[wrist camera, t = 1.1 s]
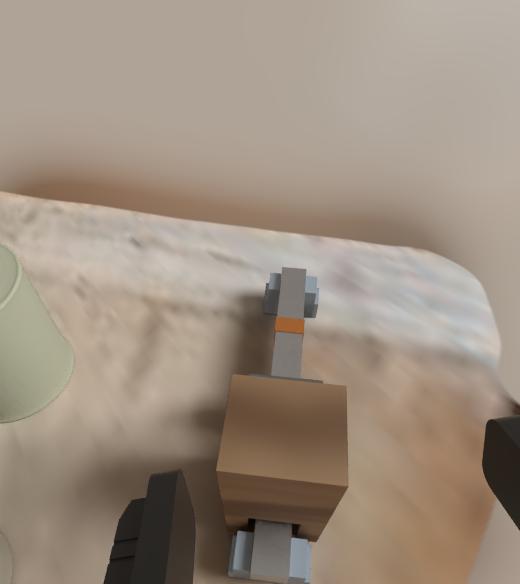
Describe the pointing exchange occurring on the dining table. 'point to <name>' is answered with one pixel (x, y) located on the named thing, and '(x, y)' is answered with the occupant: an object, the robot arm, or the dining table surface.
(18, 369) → the can
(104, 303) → the dining table surface
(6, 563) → the travel mug
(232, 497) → the wooden rectangular block
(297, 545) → the grey angular blocks
